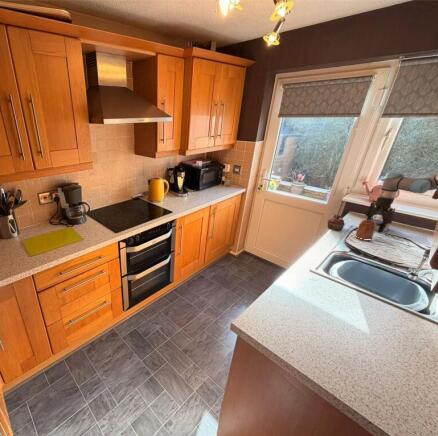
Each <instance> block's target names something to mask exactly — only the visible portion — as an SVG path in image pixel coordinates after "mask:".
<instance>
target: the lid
mask: <svg viewBox="0 0 438 436" xmlns="http://www.w3.org/2000/svg"><path fill="white" fill-rule="evenodd" d="M369 221H373V222H375V223H376V226H380V224H381V223H383V221H381V220H377V219H369Z"/></svg>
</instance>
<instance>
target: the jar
mask: <svg viewBox="0 0 438 436" xmlns="http://www.w3.org/2000/svg"><path fill="white" fill-rule="evenodd" d="M376 227H377V226H376V223H375V222H373V221H369V220H367V219H362V220H361V221H360V222H359V224H358V226H357V230H356V232H355V235H356V236H357V237H356V236H355V235H354V238H355V239H357V240H358V241H362V242H371V241H372V239H373V238H374V235H375V231H376V230H375V229H376ZM358 237H359V238H358ZM360 238H362V239H360ZM364 239H371V240H364Z"/></svg>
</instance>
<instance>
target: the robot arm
mask: <svg viewBox="0 0 438 436" xmlns="http://www.w3.org/2000/svg"><path fill="white" fill-rule="evenodd" d="M437 186H438V174H434V175H430V176H427V177H420V178H413V177H405V173H403V172H400V171H398V172H397V171H388V172H387V173H386V175H385V176H384V178H383V182H382V185H381V188H380V189H379V192H378V195H377V198H376V199H375V200H376V201H375V202H373V201H372V202H370V205H369V207H368V208H367V210H366V212H365V214H364V215H365V216H366V220H369V219H373V218H371V217H373V216H374V215H377V213H378V212H380V213H381V215H382V221H383V223H381V224H380V227H379V229H378V231H377V233H380V234H381V233H383V232H384V231H383V230H384V228H386V225H387V224H390V225H391V224H392V223H393V219H394V214H395V211H396V208H393V207H392V205H393V204H394V200H395V198H396V196H397V193H398V191H399V190H400V191H405V192H409V193H413V194H420V195H422V194H423V195H424V194H425V193H427V192H428V191H434V190H438V189H437Z"/></svg>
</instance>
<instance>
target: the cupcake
mask: <svg viewBox="0 0 438 436" xmlns="http://www.w3.org/2000/svg"><path fill="white" fill-rule="evenodd" d="M345 225H346V224H345V220H344V218H343V217H342V215H338V214H332V215H331V217H330V218H329V219H328V220H327V229H328V230H330V231H333V232H334V231H335V232H341V231H342V230H343V229H344V226H345Z"/></svg>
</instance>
